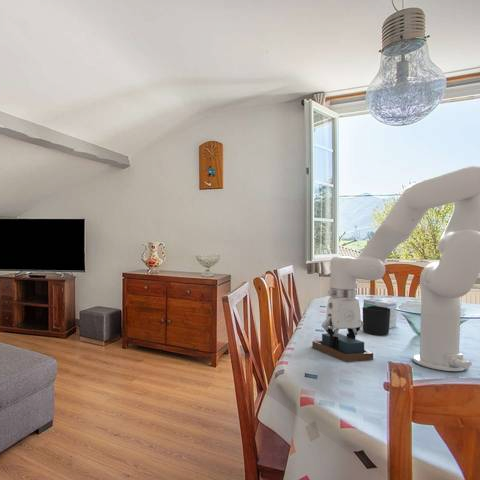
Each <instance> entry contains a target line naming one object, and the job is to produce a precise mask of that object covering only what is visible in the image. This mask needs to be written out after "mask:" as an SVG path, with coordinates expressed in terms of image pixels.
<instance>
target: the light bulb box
mask: <svg viewBox="0 0 480 480" xmlns="http://www.w3.org/2000/svg"><path fill="white" fill-rule="evenodd" d="M369 306H380V307H386V308H389V309H390V323H389V329H392V328H397V318H398V317H397V313H398V310H397V311H396V310H394V309H396V308H397V309H398V302H397V301H392V300H386V299H382V298H381V299H379V298H375V297H370V298H363V306H362V307H364V308H366V307H369Z"/></svg>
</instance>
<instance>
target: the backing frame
mask: <svg viewBox="0 0 480 480" xmlns="http://www.w3.org/2000/svg"><path fill="white" fill-rule="evenodd" d="M311 345H312V348H313V349H316V350H318V351H320V352H322V353H325V354H327V355H330V356H332V357H334V358H336V359H339V360H341V361H343V362H345V363H349V362H351V363H352V362H361V361H363V362H364V361H372V360H374V352H372V351H369V350H367V349H364V353H355V354H347V353H344V352H342V351H339V350H337V349H334V348H331V347H329V346H326V345H324V344H322V340H312V344H311Z"/></svg>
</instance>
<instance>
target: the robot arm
mask: <svg viewBox="0 0 480 480" xmlns="http://www.w3.org/2000/svg"><path fill="white" fill-rule="evenodd" d="M452 203H453V210H452V213H451V215H450V218H449V220H448V222H447V225H446V227H445V229H444V231H443V233H442V234H441V236H440V238H439V241H438V242H437V243H438V244H437V249H438V252H439V253H440V254H441V257H440V259H439V261H437V262H432V263H429V264H427V265H426V266H425V267H424V268H423V269H422V270H421V273H420V276H419V288H420V321H419V323H420V324H419V325H420V327H419V354H415V355H414V356H413V357H412V358H413V362H414V363H416V364H418V365H420V366H423V367H425V368H429V369H433V370H438V371H446V372H462V371H465V370H468V369H470V367H471V366H472V361H469V360H467V359H464V354H463V353H460V339H461V337H460V336H461V311H462V307H461V304H462V303H461V298H462V297H464V296H466V295H467V294H468V293H469V292H470V291H471V290H472V288H473V286H474V285H475V283H476V281H477V279H478V277H479V275H480V166H477V165H471V166H466V167H465V166H464V167H462V168H460V169H456V170H454V171H450V172H448V173H444V174H441V175H438V176H434V177H431V178H428V179H424V180H421V181H417V182H414V183H412V184H410V185H408V186H407V187H406V188H404V190H403V191H402V192H401V194H400V196H398V198H397V200H396V201H395V203H394V204H393V206H392V207H391V209H390V211H388V213H387V215H386V216H385V218H384V219H383V221H382V222H381V224H380V225H379V226H378V228H377V229H376V231H375V232H374V234H373V235H372V236H371V238H370V239H369V241H367V243H366V245H365V246H364V247H363V249H362V250H361V252H360V253H359V255H358V256H357V257H356V258H354V257H352V256H343V255H342V256H339V255H338V256H333V257H332V258H331V259H330V278H329V279H330V280H329V281H330V283H329V284H330V286H329V287H330V290H328V291H327V292H328V295H329V297H328V301H327V305H326V317H325V320H324V321H323V322H322V324H321V328H323V330H325V332H326V334H327V333H328V335H330V347H333V348H335V349H338V337H337V333H339V330H347V333H346V336H348V337H351V338H354V339H356V338H357V337H356V336H357V335H358V332H359V331H360V329H361V328H362V327H363V320H362V315H361V314H362V313H361V306H360V302H359V298H358V297H357V280H362V281H363V280H364V281H369V282H371V281H373V282H374V281H378V280H380V279H382V278H383V277H384V276H385V274H386V266H385V264H384V263H385V262H386V261H387V259H388V258H389V256H390V255H391V254H392V253H393V252H394V250H395V249H396V248H397V247H398V246H400V245H401V244H403V243H404V242H406V241H407V240H408V239H409V238H410V237H411V235H412V234H413V233H414V231H415V230H416V228H417V227H418V226H419V224H420V222H421V221H422V220H423V218H424V216H425V215H426V214H427V213H428V211H429V210H430V209H434V208H439V207H441V206H446V205H450V204H452Z"/></svg>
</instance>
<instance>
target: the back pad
mask: <svg viewBox="0 0 480 480" xmlns="http://www.w3.org/2000/svg"><path fill="white" fill-rule="evenodd" d="M337 337H338V349H337V350H339V351H342V352H344V353H347V354H355V353H364V350H365V342H364V341H362V340H359V339H356V338H355V339H354V338H351V337H348V336H347V335H345V334H342V333H339V332H338V333H337ZM321 341H322V344H324V345H326V346H329V347H330V335H328V333H327V332H326V333H321ZM331 348H333V347H331ZM334 349H335V348H334Z"/></svg>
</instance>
